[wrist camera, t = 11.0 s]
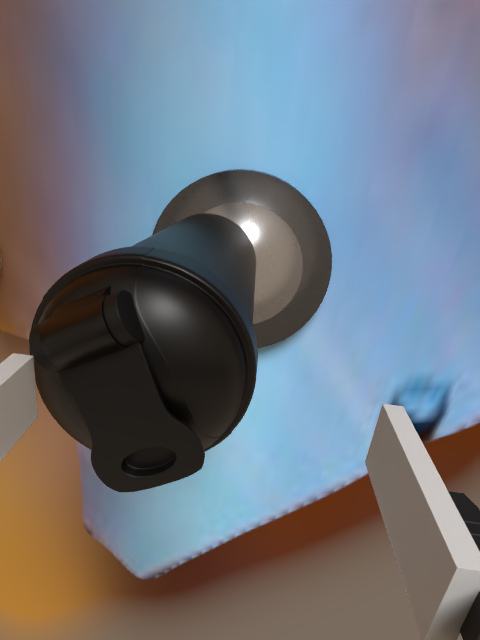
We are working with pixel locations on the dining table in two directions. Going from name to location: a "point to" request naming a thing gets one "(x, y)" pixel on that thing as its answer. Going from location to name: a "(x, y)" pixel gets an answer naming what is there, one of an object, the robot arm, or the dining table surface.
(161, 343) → the water bottle
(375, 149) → the dining table surface
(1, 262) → the white rounded capsule
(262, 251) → the grey plate
